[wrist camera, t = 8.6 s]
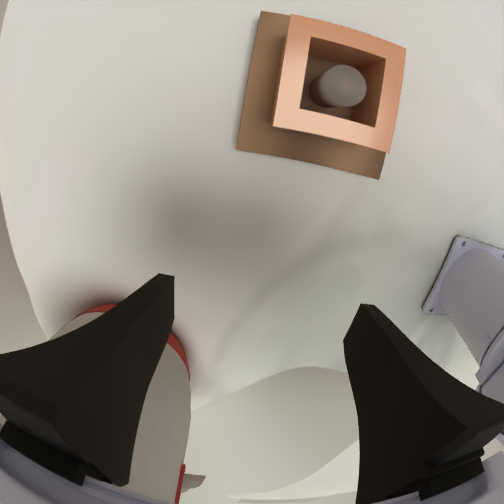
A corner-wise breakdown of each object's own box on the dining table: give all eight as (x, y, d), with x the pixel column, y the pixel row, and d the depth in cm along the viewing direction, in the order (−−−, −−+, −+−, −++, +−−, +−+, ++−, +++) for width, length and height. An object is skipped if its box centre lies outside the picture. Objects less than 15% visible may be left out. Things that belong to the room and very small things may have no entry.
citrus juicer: (195, 407, 31) (171, 549, 13) (71, 352, 28) (8, 479, 10) (249, 335, 24) (232, 569, 7) (73, 255, 21) (-61, 433, 4)
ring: (376, 60, 12) (406, 48, 9) (362, 143, 15) (389, 153, 11) (284, 36, 12) (291, 14, 9) (270, 123, 15) (272, 126, 11)
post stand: (394, 54, 13) (437, 41, 8) (370, 174, 17) (406, 199, 12) (261, 18, 13) (260, -17, 8) (238, 146, 17) (228, 160, 12)
